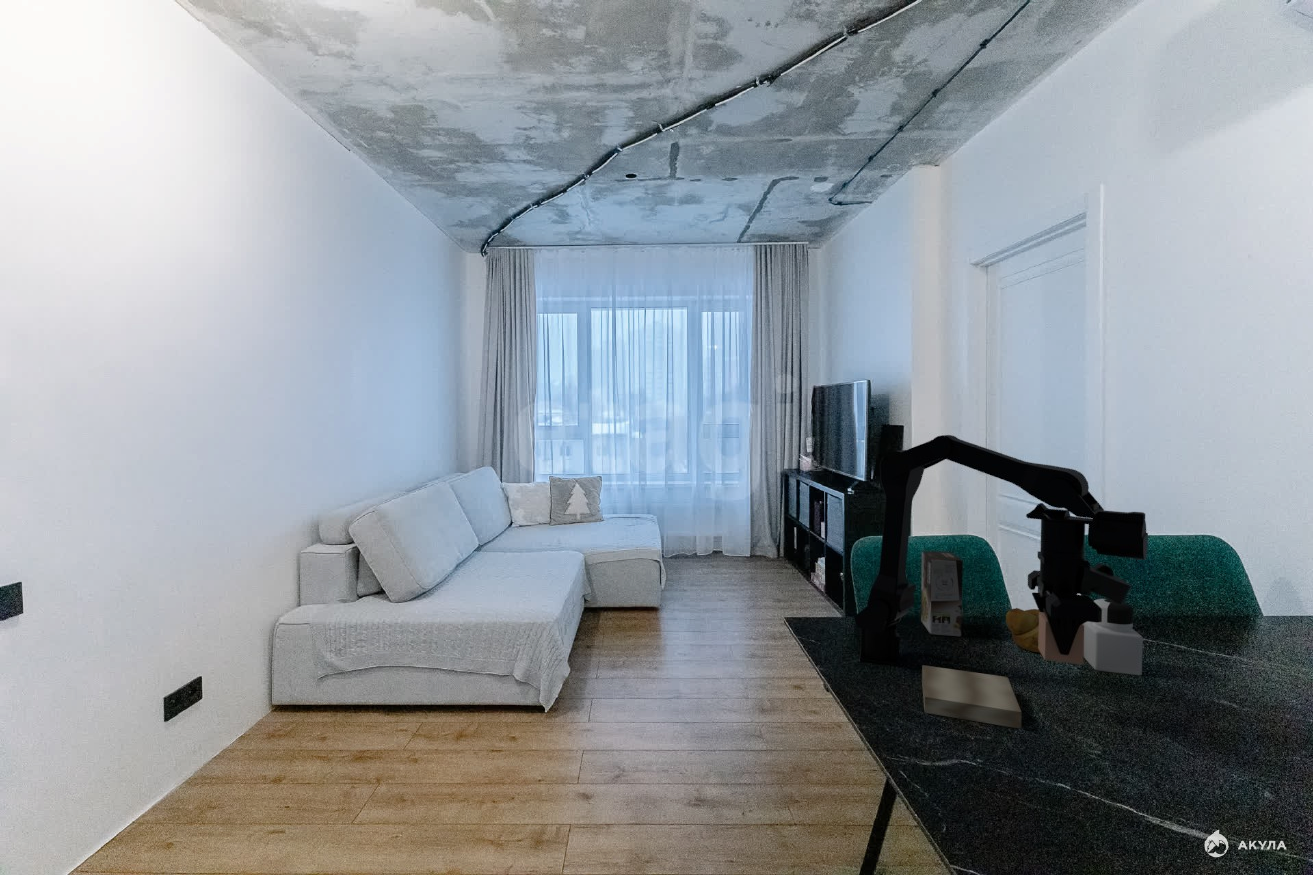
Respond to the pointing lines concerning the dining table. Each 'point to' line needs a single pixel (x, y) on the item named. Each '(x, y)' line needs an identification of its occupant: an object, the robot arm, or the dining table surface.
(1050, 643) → the terracotta block
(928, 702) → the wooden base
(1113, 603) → the medicine bottle
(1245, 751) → the dining table surface
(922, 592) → the coffee box
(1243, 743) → the dining table surface
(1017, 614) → the bread roll
